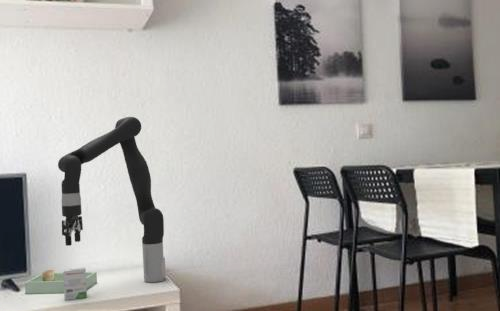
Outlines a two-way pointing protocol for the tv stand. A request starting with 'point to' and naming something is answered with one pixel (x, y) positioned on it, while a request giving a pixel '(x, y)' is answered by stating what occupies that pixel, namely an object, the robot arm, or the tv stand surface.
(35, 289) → the tote
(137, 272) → the tv stand surface
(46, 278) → the beech cylinder
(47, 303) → the tv stand surface
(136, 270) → the tv stand surface
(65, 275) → the ink box
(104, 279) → the tv stand surface
